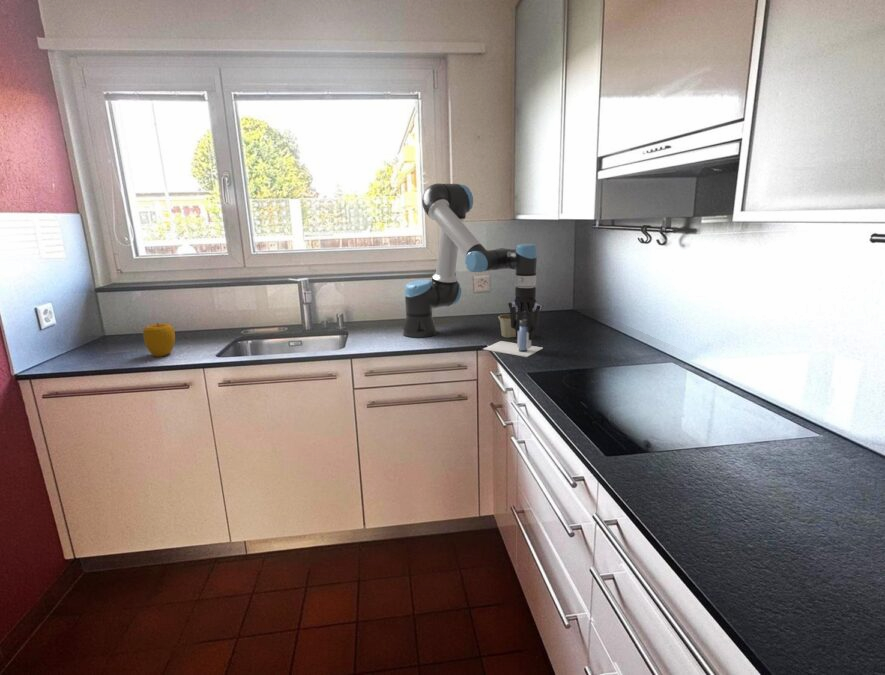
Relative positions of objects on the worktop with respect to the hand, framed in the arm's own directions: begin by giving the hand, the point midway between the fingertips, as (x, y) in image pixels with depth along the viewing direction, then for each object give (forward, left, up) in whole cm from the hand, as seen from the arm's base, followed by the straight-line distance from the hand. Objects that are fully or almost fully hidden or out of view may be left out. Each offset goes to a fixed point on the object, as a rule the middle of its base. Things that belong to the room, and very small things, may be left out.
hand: (524, 347), depth 184 cm
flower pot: (-16, +18, -2) cm, 24 cm away
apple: (-117, -80, -2) cm, 142 cm away
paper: (-5, +1, -2) cm, 5 cm away
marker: (0, -1, -1) cm, 2 cm away
